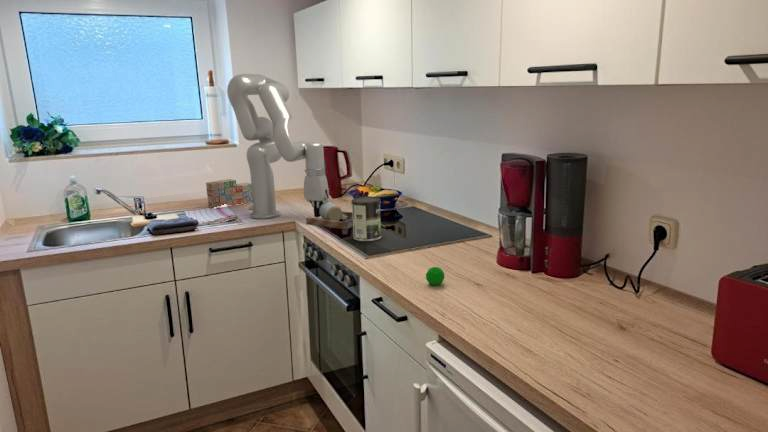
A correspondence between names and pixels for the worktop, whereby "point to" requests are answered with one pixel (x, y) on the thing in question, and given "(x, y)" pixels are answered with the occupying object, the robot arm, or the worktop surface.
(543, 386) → the worktop surface
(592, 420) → the worktop surface
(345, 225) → the brown flat slab
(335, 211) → the light bulb
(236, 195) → the stack of blocks
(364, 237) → the coffee can
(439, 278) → the green ball
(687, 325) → the worktop surface
